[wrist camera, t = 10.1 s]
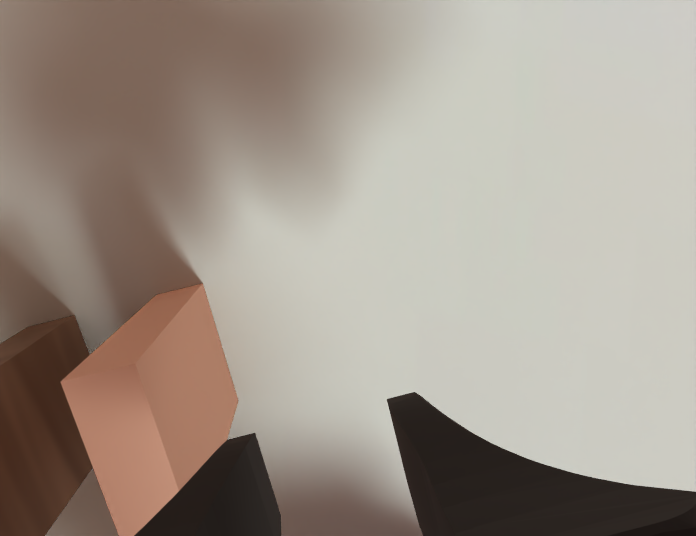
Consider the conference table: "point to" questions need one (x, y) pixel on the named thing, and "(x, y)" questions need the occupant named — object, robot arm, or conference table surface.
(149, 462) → the tile
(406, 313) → the conference table surface
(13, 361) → the brown rectangular block
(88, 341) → the conference table surface
